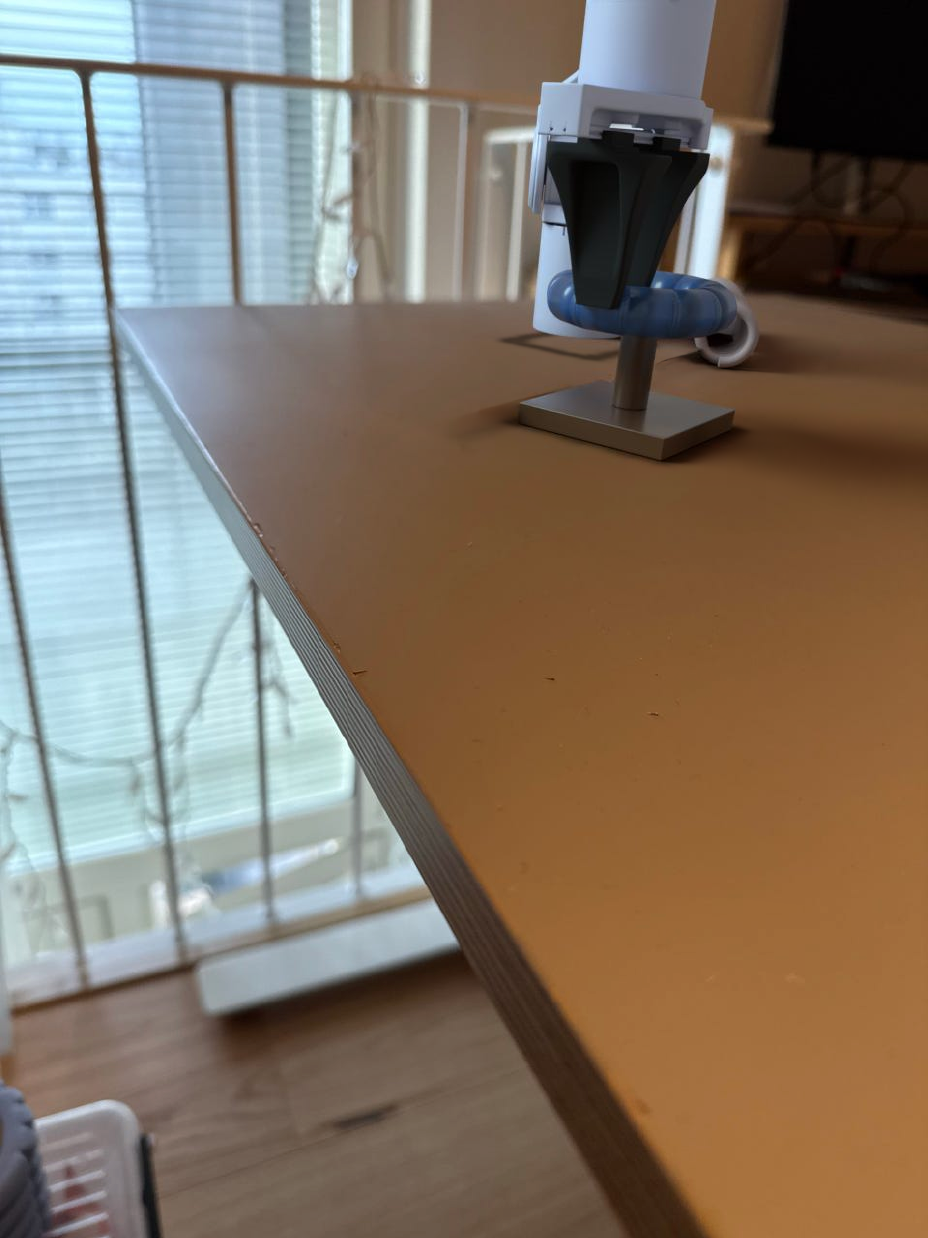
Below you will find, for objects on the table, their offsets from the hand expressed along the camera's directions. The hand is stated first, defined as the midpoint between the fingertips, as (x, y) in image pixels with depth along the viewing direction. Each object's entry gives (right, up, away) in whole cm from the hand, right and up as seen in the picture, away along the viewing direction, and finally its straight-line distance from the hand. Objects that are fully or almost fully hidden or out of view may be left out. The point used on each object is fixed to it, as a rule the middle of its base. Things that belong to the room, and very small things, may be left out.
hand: (610, 303), depth 47 cm
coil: (+14, +7, +31) cm, 34 cm away
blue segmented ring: (+2, +1, +3) cm, 4 cm away
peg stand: (+2, -5, +6) cm, 8 cm away
